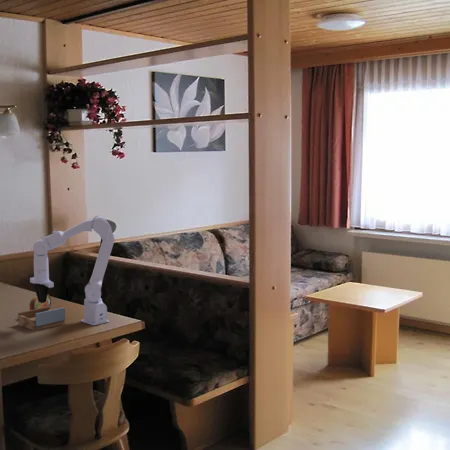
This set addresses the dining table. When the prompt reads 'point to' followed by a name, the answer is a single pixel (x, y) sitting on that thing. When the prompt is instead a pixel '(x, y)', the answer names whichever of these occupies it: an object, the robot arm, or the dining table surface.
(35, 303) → the tin
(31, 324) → the light wood shallow box
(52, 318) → the panel
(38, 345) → the dining table surface
